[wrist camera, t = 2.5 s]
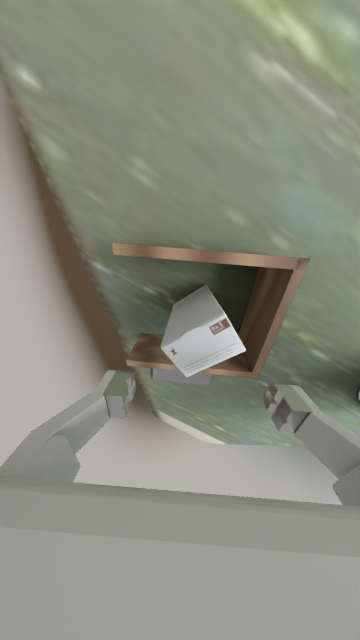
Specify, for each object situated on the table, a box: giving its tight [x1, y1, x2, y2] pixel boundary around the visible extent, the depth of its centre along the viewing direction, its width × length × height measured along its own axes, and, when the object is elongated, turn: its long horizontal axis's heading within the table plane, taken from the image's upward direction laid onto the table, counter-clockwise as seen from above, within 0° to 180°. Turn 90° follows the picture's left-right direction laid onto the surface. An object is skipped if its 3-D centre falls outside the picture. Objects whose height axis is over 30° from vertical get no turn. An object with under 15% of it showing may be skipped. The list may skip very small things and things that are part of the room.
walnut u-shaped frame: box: [112, 243, 310, 379], centre depth 19 cm, size 18×15×7 cm
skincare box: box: [161, 285, 246, 377], centre depth 17 cm, size 6×4×12 cm
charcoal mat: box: [153, 368, 212, 386], centre depth 28 cm, size 12×8×1 cm, turn 86°
